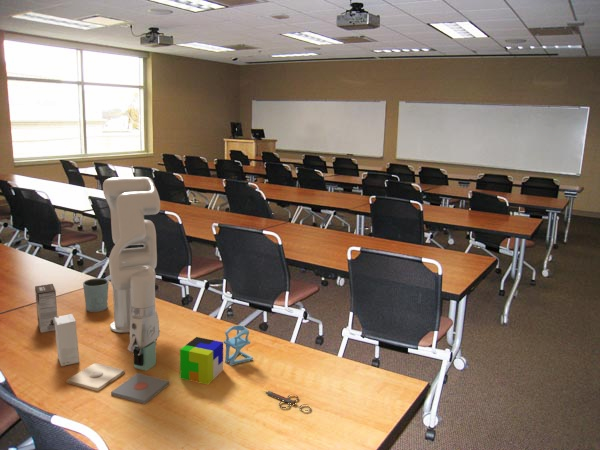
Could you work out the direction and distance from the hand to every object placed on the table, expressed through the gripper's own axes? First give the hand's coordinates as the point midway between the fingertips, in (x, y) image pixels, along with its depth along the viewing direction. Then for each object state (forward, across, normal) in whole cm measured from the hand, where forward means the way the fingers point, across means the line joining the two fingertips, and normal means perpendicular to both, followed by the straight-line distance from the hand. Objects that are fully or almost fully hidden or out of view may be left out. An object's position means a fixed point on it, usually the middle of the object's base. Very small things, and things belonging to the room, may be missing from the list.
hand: (145, 360), depth 161 cm
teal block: (+2, 0, 0) cm, 2 cm away
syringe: (+3, -1, -51) cm, 51 cm away
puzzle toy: (+2, +3, -20) cm, 20 cm away
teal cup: (+2, +33, +50) cm, 60 cm away
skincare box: (+2, -7, +26) cm, 27 cm away
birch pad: (+2, -12, +9) cm, 16 cm away
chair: (+2, +16, -26) cm, 31 cm away
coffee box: (+2, +10, +53) cm, 54 cm away
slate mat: (+2, -12, -8) cm, 15 cm away
